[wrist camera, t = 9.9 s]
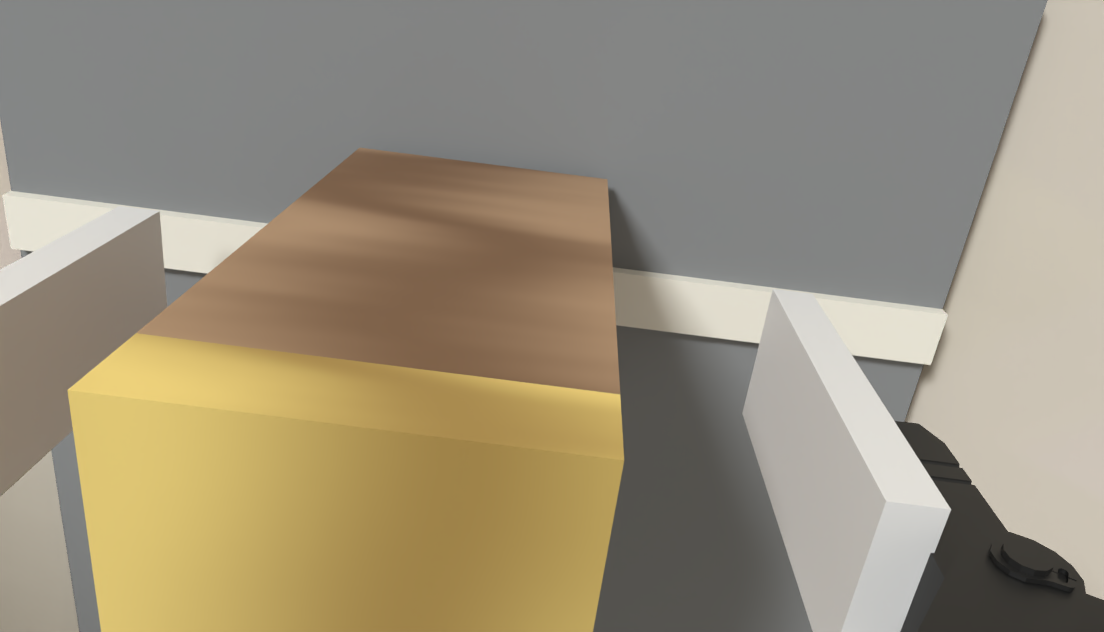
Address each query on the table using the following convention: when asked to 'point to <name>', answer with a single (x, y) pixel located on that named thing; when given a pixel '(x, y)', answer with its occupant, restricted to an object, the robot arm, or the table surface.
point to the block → (369, 416)
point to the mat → (577, 149)
